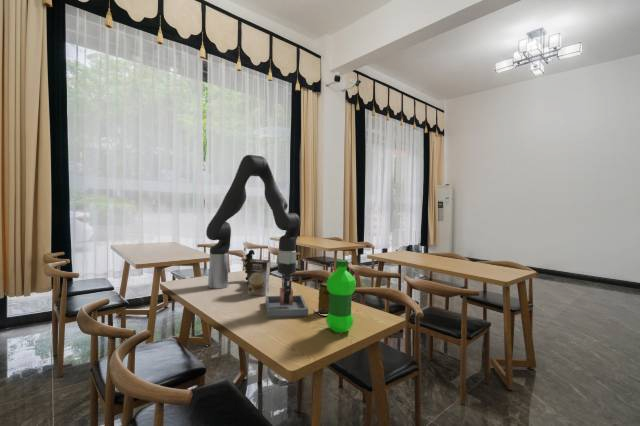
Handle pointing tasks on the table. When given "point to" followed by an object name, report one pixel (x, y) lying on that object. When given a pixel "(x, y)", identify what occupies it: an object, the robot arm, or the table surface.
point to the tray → (286, 307)
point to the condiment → (323, 299)
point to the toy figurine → (249, 257)
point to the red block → (283, 297)
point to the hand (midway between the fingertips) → (285, 301)
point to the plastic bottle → (340, 298)
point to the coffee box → (258, 277)
